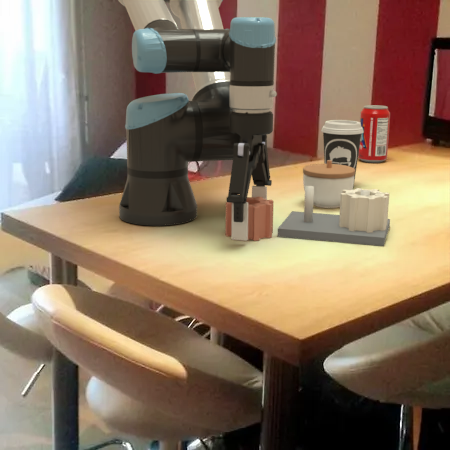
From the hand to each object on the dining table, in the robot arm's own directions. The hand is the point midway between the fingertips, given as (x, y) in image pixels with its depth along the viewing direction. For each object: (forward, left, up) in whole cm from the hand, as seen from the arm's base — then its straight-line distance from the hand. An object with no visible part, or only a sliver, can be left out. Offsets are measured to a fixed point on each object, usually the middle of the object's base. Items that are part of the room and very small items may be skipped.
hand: (249, 229), depth 132 cm
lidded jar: (+10, +27, -1) cm, 29 cm away
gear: (0, 0, -1) cm, 1 cm away
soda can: (+14, +81, -1) cm, 82 cm away
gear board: (+14, +7, -1) cm, 16 cm away
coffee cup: (+10, +45, -1) cm, 46 cm away
